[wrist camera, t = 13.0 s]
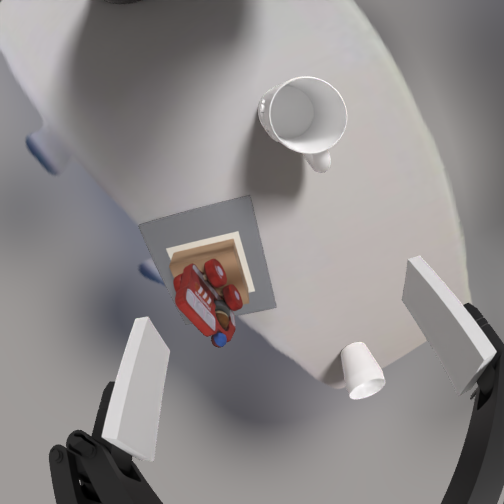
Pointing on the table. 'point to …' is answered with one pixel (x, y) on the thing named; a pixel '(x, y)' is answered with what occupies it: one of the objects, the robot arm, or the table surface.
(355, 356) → the cup
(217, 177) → the table surface
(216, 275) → the toy fire truck
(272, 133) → the mug
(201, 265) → the base block
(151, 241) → the mat
